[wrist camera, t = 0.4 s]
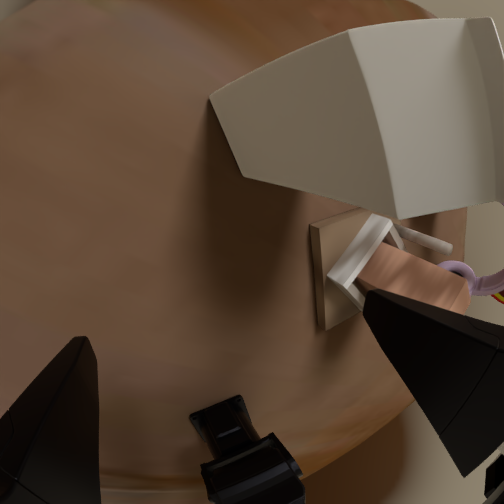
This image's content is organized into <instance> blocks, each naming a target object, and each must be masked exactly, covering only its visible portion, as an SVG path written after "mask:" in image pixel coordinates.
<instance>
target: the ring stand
mask: <svg viewBox="0 0 504 504" xmlns="http://www.w3.org/2000/svg"><path fill="white" fill-rule="evenodd" d="M310 234H311V243H312V254H313V265H314V276H315V289H316V302H317V318H318V325H319V326H320V327H321V328H323V329H324V330H325V331H327V330H329V329H331V328H333V327H334V326H336V325H338V324H340V323H341V322H343V321H345V320H347V319H349V318H350V317H352V316H354V315H356V314H357V313H359V312H361V311H363V306H364V302H365V298H366V294H367V292H365V291H363V290H362V289H361V287H360V286H359V285H358V284H357V283H356V282H355V280H354V279H355V278H356V277H357V275H358V274H359V273H360V271H361V270H362V268H363V267H364V266H365V264H366V263H367V262H368V260H369V259H370V257H371V256H372V254H373V253H374V252H375V250H376V249H377V247H378V246H379V244H380V243H381V242H383V243H386V244H388V245H391V246H393V247H395V248H398V249H400V250H402V251H405V252H407V253H408V251H407V249H406V247H405V245H404V244H403V242H402V240H401V238H400V237H402V238H404V239H407V240H409V241H412V242H415V243H417V244H420V245H422V246H425V247H427V248H430V249H432V250H434V251H437V252H439V253H442V254H444V255H447V256H450V254H451V252H452V249H453V245H452V244H450V243H447V242H444V241H442V240H439V239H436V238H434V237H431V236H428V235H426V234H423V233H420V232H417V231H415V230H412V229H409V228H406V227H403V226H401V220H398V219H397V218H394V217H390V216H387V215H384V214H381V213H378V212H375V211H371V210H368V209H365V208H361V207H359V208H356V209H353V210H350V211H347V212H344V213H341V214H338V215H335V216H333V217H330V218H327V219H324V220H321V221H318V222H315V223H312V224H310Z"/></svg>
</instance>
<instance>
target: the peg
mask: <svg viewBox="0 0 504 504" xmlns="http://www.w3.org/2000/svg"><path fill="white" fill-rule="evenodd" d="M354 280H355V282H356V283H357V284H358V285H359V286H360V287H361V289H362V290H363V291H365V292H368V291H369V290H372V289H376V288H379V289H382V290H386V291H389V292H392V293H395V294H399V295H402V296H405V297H408V298H411V299H414V300H418V301H421V302H424V303H427V304H430V305H434V306H437V307H440V308H443V309H446V310H450V311H453V312H456V313H459V314H462V315H463V314H464V313H465V311H466V310H467V308H468V306H469V304H470V302H471V301H470V294H469V288H468V283H467V279H465V278H463V277H461V276H459V275H456V274H454V273H452V272H450V271H448V270H446V269H443V268H441V267H439V266H437V265H435V264H432V263H430V262H428V261H426V260H423V259H421V258H419V257H416V256H414V255H412V254H409V253H407V252H405V251H402V250H400V249H398V248H395V247H393V246H391V245H388V244H386V243H383V242H381V243H380V244H379V246H378V247H377V249H376V250H375V252H374V253H373V254H372V256H371V257H370V259H369V260H368V262H367V263H366V264H365V266H364V267H363V268H362V270H361V271H360V273H359V274H358V275H357V277H356V278H355V279H354Z"/></svg>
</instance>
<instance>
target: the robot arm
mask: <svg viewBox="0 0 504 504" xmlns="http://www.w3.org/2000/svg"><path fill="white" fill-rule="evenodd" d="M363 316H364V318H365V320H366V322H367V324H368V325H369V327H370V329H371V331H372V333H373V334H374V336H375V338H376V340H377V342H378V343H379V345H380V347H381V349H382V350H383V352H384V353H385V355H386V356H387V358H388V359H389V361H390V362H391V363H392V365H393V366H394V368H395V369H396V371H397V372H398V374H399V375H400V377H401V378H402V380H403V381H404V383H405V384H406V386H407V387H408V389H409V390H410V392H411V393H412V395H413V396H414V398H415V399H416V401H417V402H418V404H419V406H420V407H421V409H422V410H423V412H424V413H425V415H426V417H427V418H428V420H429V421H430V423H431V425H432V426H433V428H434V429H435V431H436V432H437V434H438V435H439V438H440V440H441V441H442V443H443V444H444V446H445V448H446V449H447V451H448V453H449V454H450V456H451V458H452V459H453V461H454V463H455V465H456V466H457V468H458V470H459V471H460V473H461V475H462V476H463V477H464V478H465V477H466V476H467V475H468V474H470V473H471V472H472V471H473V470H474V469H475V468H477V467H478V466H479V465H480V464H481V463H482V462H483V461H484V460H486V459H487V458H488V457H489V456H490V455H491V454H492V453H493V452H494V451H495V450H496V449H498V450H499V451H500V452H501V453H500V454H499V455H498V457H497V458H496V459H495V460H494V461H493V462H492V463H491V464H490V465H489V466H488V467H487V469H486V479H485V491H484V495H485V497H486V498H487V500H486V501H485V502H484V503H483V504H504V326H501V325H496V324H493V323H489V322H485V321H482V320H479V319H475V318H472V317H469V316H466V315H465V316H464V315H462V314H459V313H456V312H453V311H450V310H446V309H443V308H440V307H437V306H434V305H430V304H427V303H424V302H421V301H418V300H414V299H411V298H408V297H405V296H402V295H399V294H395V293H392V292H389V291H386V290H382V289H379V288H376V289H372V290H369V291H368V292H367V294H366V298H365V302H364V306H363ZM189 417H190V420H191V422H192V423H193V425H194V426H195V428H196V429H197V431H198V432H199V434H200V436H201V437H202V439H203V440H204V442H206V443H207V445H208V447H209V449H210V452H211V454H212V456H213V458H214V460H213V461H210V462H208V463H203V464H201V465H200V466H201V469H202V471H201V474H202V477H203V479H204V482H205V485H206V489H207V495H208V499H209V501H210V502H211V503H214V504H305V487H304V485H303V484H302V482H301V481H300V479H299V477H301V476H303V473H302V471H301V469H300V468H299V466H298V464H297V463H296V461H295V460H294V459H293V457H292V456H291V454H290V453H289V452H288V451H287V449H286V448H285V447H284V446H283V444H282V443H281V442H280V441H279V439H278V438H277V437H276V436H275V434H274V433H273V432H272V433H270V434H268V436H266V437H264V438H262V439H261V438H260V437H259V435H258V433H257V432H256V430H255V429H254V427H253V425H252V424H251V423H252V422H251V419H250V417H249V414H248V411H247V408H246V406H245V403H244V400H243V398H242V396H241V395H237V396H235V397H232V398H230V399H228V400H225V401H223V402H220V403H218V404H216V405H213V406H211V407H208V408H206V409H203V410H200V411H198V412H195V413H193V414H191V415H190V416H189ZM0 504H101V494H100V479H99V395H98V370H97V359H96V356H95V353H94V351H93V349H92V346H91V344H90V341H89V339H88V337H86V336H78V337H74V338H72V340H71V341H70V342H69V343H68V344H67V345H66V346H65V347H64V348H63V349H62V350H61V351H60V352H59V353H58V354H57V355H56V356H55V357H54V358H53V359H52V361H51V362H50V363H49V364H48V365H47V366H46V367H45V368H44V369H43V370H42V371H41V372H40V374H39V375H38V376H37V377H36V378H35V379H34V380H33V381H32V382H31V384H30V385H29V386H28V387H27V388H26V389H25V390H24V392H23V393H22V394H21V395H20V396H19V397H18V398H17V400H16V401H15V402H14V403H13V404H12V405H11V407H10V408H9V410H7V411H6V413H5V414H4V415H3V416H2V417H1V419H0Z"/></svg>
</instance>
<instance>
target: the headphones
mask: <svg viewBox="0 0 504 504" xmlns="http://www.w3.org/2000/svg"><path fill="white" fill-rule="evenodd" d="M500 203H501V202H500ZM501 204H502V205H503V206H504V203H501ZM437 266H439V267H441V268H443V269H446V270H448V271H450V272H452V273H454V274H456V275H459V276H461V277H463V278H465V279H467V283H468V288H469V294H470V297H471V295H477V296H482V295H483V296H487V295H491V296H492V297H494V298H495V299H496V300H497V301H499V302H501V303H502V304H504V269H503V270H502V271H500V272H498V273H496V274H493V275H490V276H483V277H476V276H475V274H474V272H473V270H472V269H471V268H470V267H469V266H468V265H466V264H464V263H462V262H459V261H445V262H442V263H440V264H438V265H437Z"/></svg>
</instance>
